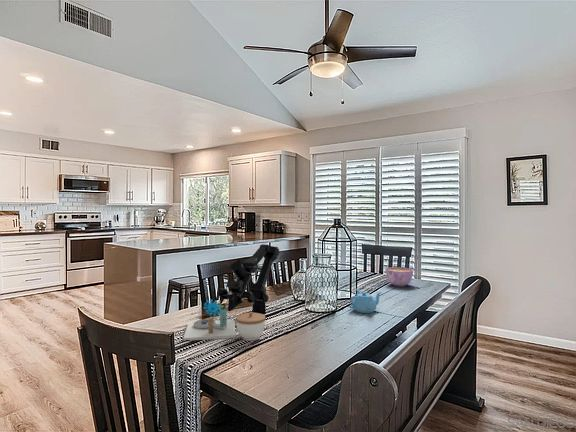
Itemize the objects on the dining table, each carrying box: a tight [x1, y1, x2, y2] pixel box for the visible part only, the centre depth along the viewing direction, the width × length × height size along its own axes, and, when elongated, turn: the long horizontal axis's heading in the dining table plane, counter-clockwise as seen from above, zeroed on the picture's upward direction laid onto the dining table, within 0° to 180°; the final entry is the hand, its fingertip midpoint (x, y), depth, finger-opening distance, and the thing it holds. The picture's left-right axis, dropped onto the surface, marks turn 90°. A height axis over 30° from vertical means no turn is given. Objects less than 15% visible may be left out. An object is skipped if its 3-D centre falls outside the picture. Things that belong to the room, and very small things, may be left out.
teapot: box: [349, 288, 382, 314], centre depth 198 cm, size 15×15×10 cm
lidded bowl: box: [235, 311, 266, 342], centre depth 156 cm, size 13×13×11 cm
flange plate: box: [194, 307, 228, 329], centre depth 167 cm, size 16×10×9 cm, turn 65°
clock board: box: [182, 317, 236, 342], centre depth 165 cm, size 22×22×7 cm
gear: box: [203, 299, 225, 317], centre depth 192 cm, size 11×6×10 cm
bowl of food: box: [384, 266, 414, 287], centre depth 262 cm, size 20×20×12 cm
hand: (228, 311), depth 168 cm, fingers closed
